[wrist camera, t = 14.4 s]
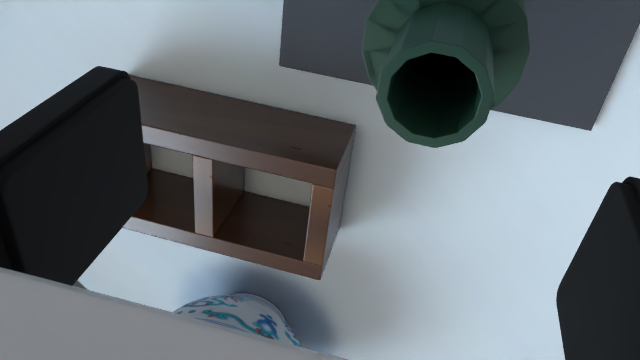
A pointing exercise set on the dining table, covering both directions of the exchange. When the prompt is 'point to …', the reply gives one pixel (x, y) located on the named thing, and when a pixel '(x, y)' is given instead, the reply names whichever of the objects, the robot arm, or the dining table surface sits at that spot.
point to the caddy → (242, 177)
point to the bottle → (443, 63)
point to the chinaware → (242, 315)
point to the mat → (540, 70)
